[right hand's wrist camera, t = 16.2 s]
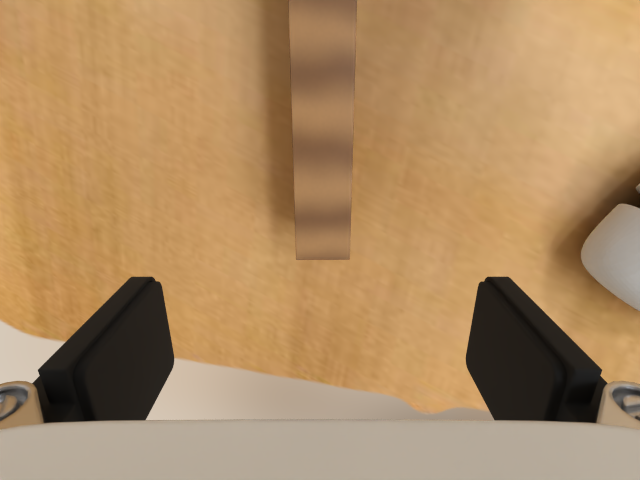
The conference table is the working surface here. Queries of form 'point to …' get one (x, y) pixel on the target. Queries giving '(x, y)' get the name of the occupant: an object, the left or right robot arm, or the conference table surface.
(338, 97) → the beam
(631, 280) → the projector
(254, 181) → the conference table surface
